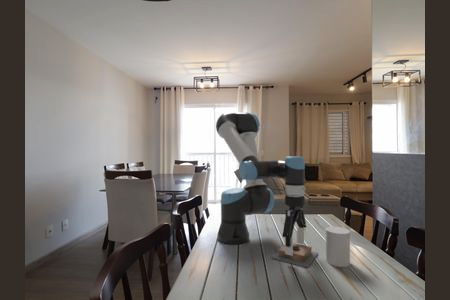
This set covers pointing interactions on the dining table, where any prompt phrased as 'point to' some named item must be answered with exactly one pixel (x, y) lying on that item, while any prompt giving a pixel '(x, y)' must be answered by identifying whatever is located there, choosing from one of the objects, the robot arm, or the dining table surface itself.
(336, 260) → the cup
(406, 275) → the dining table surface
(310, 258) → the mat
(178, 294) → the dining table surface
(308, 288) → the dining table surface
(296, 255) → the lid
